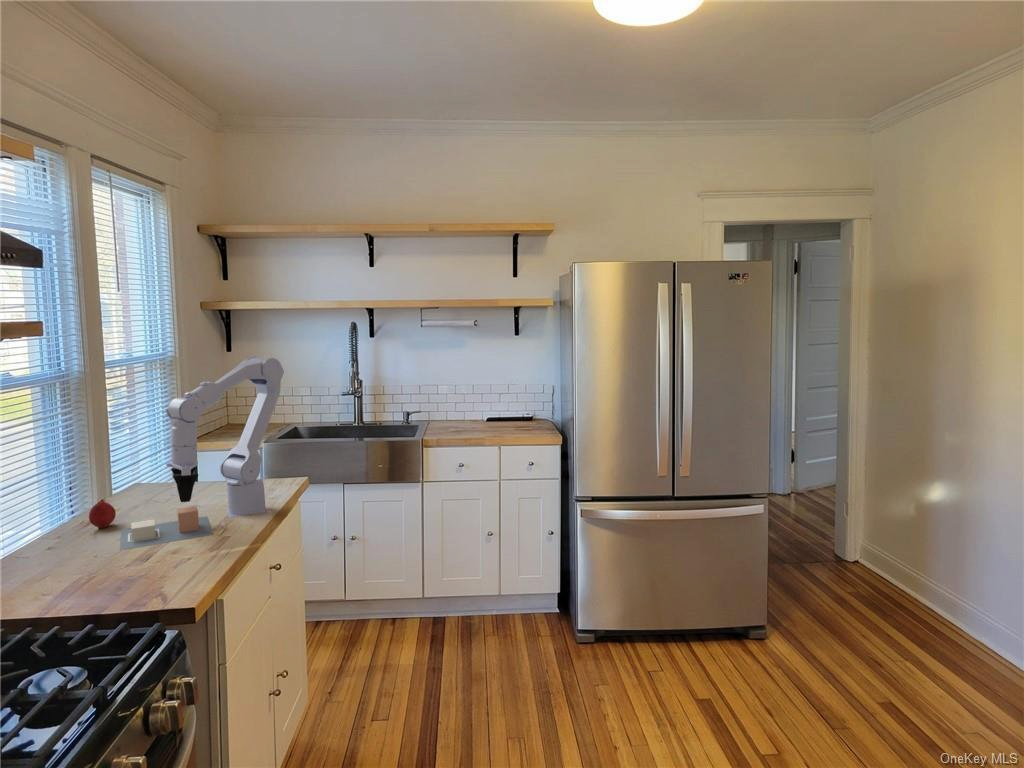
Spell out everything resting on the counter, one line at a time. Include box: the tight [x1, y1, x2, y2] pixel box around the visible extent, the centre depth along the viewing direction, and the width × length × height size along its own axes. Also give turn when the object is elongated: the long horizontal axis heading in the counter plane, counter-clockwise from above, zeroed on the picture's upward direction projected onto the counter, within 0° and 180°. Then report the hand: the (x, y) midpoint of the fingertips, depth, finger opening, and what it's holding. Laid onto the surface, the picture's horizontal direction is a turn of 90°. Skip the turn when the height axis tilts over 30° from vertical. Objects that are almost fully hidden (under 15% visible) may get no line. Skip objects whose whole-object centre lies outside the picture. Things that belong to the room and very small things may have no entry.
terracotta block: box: [176, 505, 199, 533], centre depth 164 cm, size 4×4×5 cm
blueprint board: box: [119, 516, 214, 551], centre depth 162 cm, size 20×16×4 cm
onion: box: [88, 498, 116, 529], centre depth 166 cm, size 6×6×8 cm
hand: (184, 498), depth 163 cm, fingers open, 7 cm apart
